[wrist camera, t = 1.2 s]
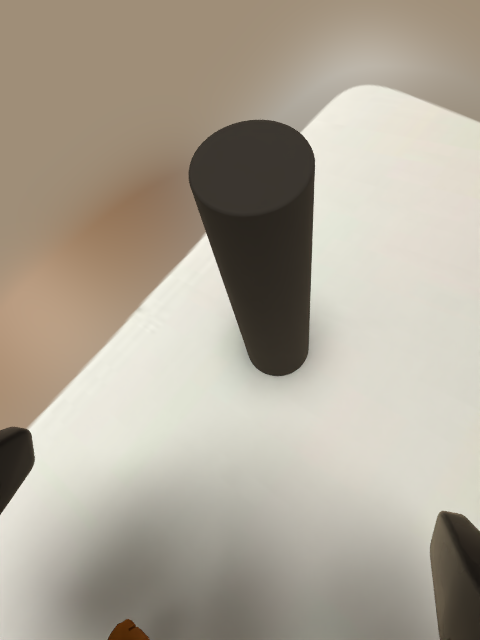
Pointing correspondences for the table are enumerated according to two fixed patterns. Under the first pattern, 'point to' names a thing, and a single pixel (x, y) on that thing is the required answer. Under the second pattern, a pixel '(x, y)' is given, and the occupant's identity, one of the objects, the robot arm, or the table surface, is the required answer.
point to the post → (261, 233)
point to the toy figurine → (127, 632)
